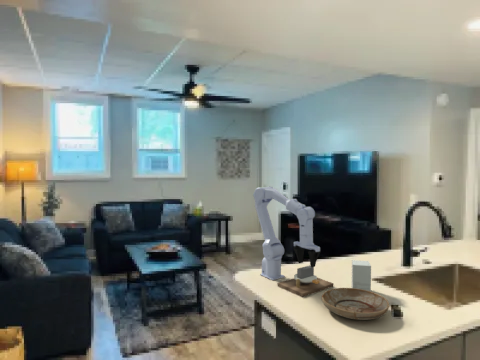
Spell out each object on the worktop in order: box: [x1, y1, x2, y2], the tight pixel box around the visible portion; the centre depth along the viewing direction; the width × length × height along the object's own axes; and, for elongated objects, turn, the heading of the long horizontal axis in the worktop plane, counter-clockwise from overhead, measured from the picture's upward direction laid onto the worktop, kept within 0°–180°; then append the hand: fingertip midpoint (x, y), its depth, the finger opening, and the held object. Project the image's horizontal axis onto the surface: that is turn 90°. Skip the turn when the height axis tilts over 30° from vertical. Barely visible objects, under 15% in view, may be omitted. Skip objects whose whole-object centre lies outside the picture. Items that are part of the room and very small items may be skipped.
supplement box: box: [351, 259, 372, 292], centre depth 141 cm, size 7×7×13 cm
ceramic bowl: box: [321, 287, 390, 321], centre depth 122 cm, size 23×24×5 cm
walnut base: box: [277, 277, 334, 298], centre depth 147 cm, size 15×20×5 cm
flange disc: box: [293, 265, 320, 284], centre depth 146 cm, size 12×10×5 cm
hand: (306, 264), depth 146 cm, fingers open, 7 cm apart
